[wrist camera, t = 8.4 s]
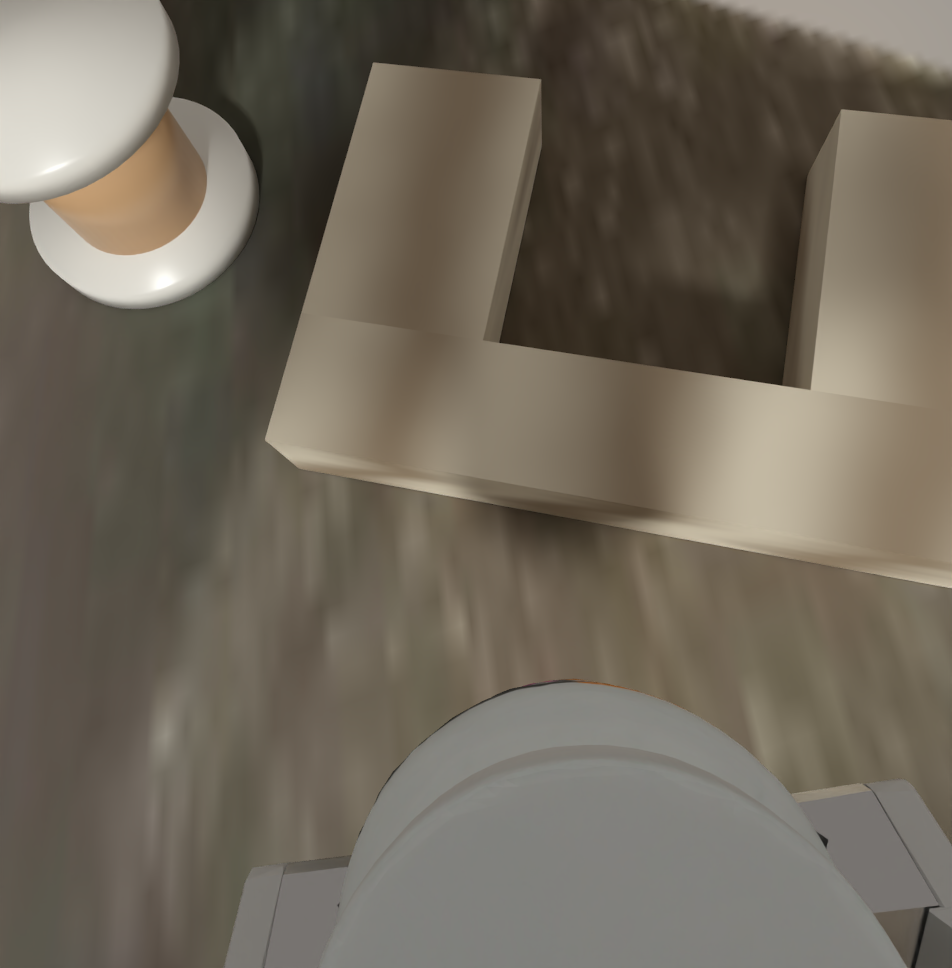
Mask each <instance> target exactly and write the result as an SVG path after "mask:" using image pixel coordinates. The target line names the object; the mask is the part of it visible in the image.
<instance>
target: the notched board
mask: <svg viewBox="0 0 952 968" xmlns="http://www.w3.org/2000/svg"><path fill="white" fill-rule="evenodd" d="M541 147H542V110H541V79H533V78H523V77H513V76H503V75H493V74H483V73H473V72H463V71H453V70H443V69H433V68H423V67H413V66H403V65H393V64H383V63H373V65H372V69H371V72H370V76H369V79H368V82H367V86H366V89H365V93H364V96H363V100H362V103H361V107H360V110H359V114H358V117H357V121H356V124H355V128H354V131H353V135H352V138H351V142H350V145H349V149H348V152H347V156H346V159H345V163H344V166H343V170H342V173H341V177H340V180H339V184H338V187H337V190H336V194H335V197H334V201H333V204H332V208H331V211H330V215H329V218H328V222H327V225H326V229H325V232H324V236H323V239H322V243H321V246H320V250H319V253H318V257H317V260H316V264H315V267H314V271H313V274H312V278H311V281H310V285H309V288H308V291H307V295H306V298H305V302H304V305H303V309H302V312H301V316H300V319H299V323H298V326H297V330H296V333H295V337H294V340H293V344H292V347H291V351H290V354H289V358H288V361H287V365H286V368H285V372H284V375H283V379H282V382H281V386H280V389H279V393H278V396H277V399H276V403H275V406H274V410H273V413H272V417H271V420H270V424H269V427H268V431H267V434H266V438H265V440H266V441H267V442H268V443H269V444H270V445H272V446H273V447H274V448H275V449H276V450H278V451H279V452H280V453H281V454H282V455H284V456H285V457H286V458H287V459H288V460H290V461H291V462H292V463H293V464H294V465H296V466H297V467H298V468H299V469H304V470H310V471H315V472H321V473H326V474H331V475H337V476H342V477H348V478H353V479H359V480H364V481H370V482H375V483H381V484H386V485H391V486H397V487H402V488H408V489H413V490H419V491H424V492H430V493H435V494H441V495H446V496H452V497H457V498H462V499H468V500H473V501H479V502H484V503H490V504H495V505H501V506H506V507H512V508H517V509H522V510H528V511H533V512H539V513H544V514H550V515H555V516H561V517H566V518H572V519H577V520H582V521H588V522H593V523H599V524H604V525H610V526H615V527H621V528H626V529H632V530H637V531H642V532H648V533H653V534H659V535H664V536H670V537H675V538H681V539H686V540H692V541H697V542H702V543H708V544H713V545H719V546H724V547H730V548H735V549H741V550H746V551H752V552H757V553H763V554H768V555H773V556H779V557H784V558H790V559H795V560H801V561H806V562H812V563H817V564H823V565H828V566H833V567H839V568H844V569H850V570H855V571H861V572H866V573H872V574H877V575H883V576H888V577H893V578H899V579H904V580H910V581H915V582H921V583H926V584H932V585H937V586H943V587H948V588H952V120H944V119H934V118H924V117H914V116H904V115H894V114H884V113H874V112H864V111H854V110H844V109H841V111H840V113H839V115H838V117H837V119H836V121H835V123H834V125H833V127H832V129H831V130H830V132H829V134H828V136H827V138H826V140H825V142H824V144H823V146H822V148H821V150H820V152H819V154H818V156H817V158H816V160H815V161H814V163H813V165H812V167H811V169H810V171H809V173H808V175H807V182H806V190H805V199H804V207H803V216H802V224H801V232H800V241H799V249H798V258H797V266H796V274H795V283H794V291H793V299H792V308H791V316H790V325H789V333H788V341H787V350H786V358H785V366H784V375H783V383H782V386H780V385H774V384H767V383H760V382H754V381H747V380H741V379H734V378H727V377H721V376H714V375H708V374H701V373H694V372H688V371H681V370H675V369H668V368H662V367H655V366H648V365H642V364H635V363H629V362H622V361H615V360H609V359H602V358H596V357H589V356H582V355H576V354H569V353H563V352H556V351H550V350H543V349H536V348H530V347H523V346H517V345H510V344H503V343H499V341H500V336H501V332H502V327H503V323H504V318H505V313H506V309H507V304H508V300H509V295H510V290H511V286H512V281H513V276H514V272H515V267H516V263H517V258H518V253H519V249H520V244H521V240H522V235H523V230H524V226H525V221H526V217H527V212H528V207H529V203H530V198H531V194H532V189H533V184H534V180H535V175H536V171H537V166H538V161H539V157H540V152H541Z"/></svg>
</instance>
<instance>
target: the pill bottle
mask: <svg viewBox="0 0 952 968" xmlns="http://www.w3.org/2000/svg"><path fill="white" fill-rule="evenodd" d="M318 968H907V966H906V964H905V963H904V961H903V960H902V958H901V956H900V955H899V953H898V951H897V950H896V948H895V946H894V945H893V943H892V941H891V940H890V938H889V937H888V935H887V933H886V932H885V930H884V929H883V927H882V926H881V924H880V923H879V921H878V920H877V919H876V917H875V916H874V914H873V913H872V911H871V910H870V908H869V907H868V906H867V905H866V903H865V902H864V901H863V899H862V898H861V897H860V896H859V894H858V893H857V892H856V891H855V889H854V888H853V887H852V886H851V885H850V883H849V882H848V881H847V880H846V879H845V878H844V876H843V875H842V874H841V873H840V872H839V871H838V869H837V868H836V867H835V865H834V863H833V861H832V859H831V857H830V855H829V853H828V851H827V850H826V848H825V846H824V844H823V842H822V841H821V839H820V837H819V835H818V834H817V832H816V830H815V829H814V827H813V825H812V824H811V822H810V821H809V819H808V818H807V816H806V815H805V813H804V812H803V810H802V809H801V807H800V806H799V805H798V803H797V802H796V801H795V799H794V798H793V797H792V795H791V794H790V793H789V792H788V791H787V789H786V788H785V787H784V786H783V785H782V784H781V782H780V781H779V780H778V779H777V778H776V777H775V776H774V775H773V774H772V773H771V772H770V771H769V770H768V769H767V768H766V767H765V766H763V765H762V764H761V763H760V762H759V761H758V760H757V759H756V758H755V757H754V756H753V755H752V754H751V753H749V752H748V751H747V750H746V749H745V748H744V747H742V746H741V745H740V744H738V743H737V742H736V741H734V740H733V739H732V738H730V737H729V736H728V735H726V734H725V733H724V732H722V731H721V730H719V729H718V728H717V727H715V726H713V725H712V724H710V723H708V722H707V721H705V720H703V719H702V718H700V717H698V716H697V715H695V714H693V713H691V712H689V711H687V710H685V709H683V708H681V707H679V706H677V705H675V704H672V703H670V702H668V701H665V700H663V699H660V698H657V697H654V696H651V695H648V694H645V693H642V692H639V691H636V690H633V689H629V688H624V687H619V686H614V685H610V684H605V683H598V682H594V681H587V680H579V679H565V680H552V681H546V682H541V683H533V684H529V685H525V686H522V687H518V688H513V689H509V690H507V691H504V692H502V693H499V694H497V695H495V696H493V697H492V698H489V699H487V700H484V701H482V702H480V703H478V704H476V705H475V706H473V707H471V708H469V709H467V710H465V711H464V712H462V713H460V714H458V715H457V716H455V717H453V718H452V719H450V720H449V721H448V722H447V723H445V724H444V725H443V726H442V727H440V728H439V729H438V730H437V731H435V732H434V733H433V734H432V735H430V736H429V737H428V738H427V739H426V740H424V741H423V742H422V743H421V744H420V745H419V746H418V747H417V748H415V749H414V750H413V751H412V752H411V753H410V754H409V756H408V757H407V758H406V759H405V760H404V761H403V762H402V763H401V764H400V765H399V766H398V767H397V768H396V769H395V770H394V771H393V773H392V774H391V776H390V777H389V779H388V780H387V782H386V783H385V785H384V786H383V788H382V789H381V791H380V792H379V794H378V797H377V799H376V802H375V804H374V806H373V808H372V809H371V811H370V813H369V815H368V817H367V820H366V822H365V824H364V826H363V827H362V829H361V831H360V833H359V836H358V839H357V842H356V845H355V848H354V850H353V853H352V856H351V859H350V862H349V866H348V870H347V873H346V877H345V881H344V885H343V889H342V894H341V899H340V904H339V909H338V916H337V924H336V925H335V927H334V929H333V931H332V934H331V936H330V938H329V940H328V942H327V945H326V947H325V950H324V952H323V955H322V958H321V961H320V964H319V967H318Z"/></svg>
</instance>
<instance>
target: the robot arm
mask: <svg viewBox="0 0 952 968" xmlns="http://www.w3.org/2000/svg"><path fill="white" fill-rule="evenodd" d="M791 795H792V797H793V798H794V799H795V801H796V802H797V803H798V805H799V806H800V807H801V809H802V810H803V812H804V813H805V815H806V816H807V818H808V819H809V821H810V822H811V824H812V825H813V827H814V829H815V830H816V832H817V834H818V835H819V837H820V839H821V841H822V842H823V844H824V846H825V848H826V850H827V851H828V853H829V855H830V857H831V859H832V861H833V863H834V865H835V867H836V868H837V869H838V871H839V872H840V873H841V874H842V875H843V876H844V878H845V879H846V880H847V881H848V882H849V883H850V885H851V886H852V887H853V888H854V889H855V891H856V892H857V893H858V894H859V896H860V897H861V898H862V899H863V901H864V902H865V903H866V905H867V906H868V907H869V908H870V910H871V911H872V913H873V914H874V916H875V917H876V919H877V920H878V921H879V923H880V924H881V926H882V927H883V929H884V930H885V932H886V933H887V935H888V937H889V938H890V940H891V941H892V943H893V945H894V946H895V948H896V950H897V951H898V953H899V955H900V956H901V958H902V960H903V961H904V963H905V964H906V966H907V968H952V845H951V843H950V841H949V840H948V838H947V837H946V835H945V834H944V832H943V831H942V829H941V828H940V826H939V825H938V823H937V822H936V820H935V818H934V817H933V815H932V814H931V812H930V811H929V809H928V808H927V806H926V805H925V803H924V802H923V800H922V798H921V797H920V795H919V794H918V792H917V791H916V789H915V788H914V786H913V785H911V784H910V783H909V782H908V781H906V780H905V779H892V780H886V781H879V782H873V783H867V784H861V783H858V784H852V785H845V786H839V787H833V788H826V789H820V790H813V791H807V792H800V793H794V794H791ZM351 856H352V855H348V856H341V857H333V858H325V859H317V860H309V861H301V862H293V863H291V862H289V863H282V864H275V865H268V866H261V867H254V868H252V870H251V872H250V874H249V875H248V877H247V879H246V881H245V884H244V888H243V892H242V896H241V900H240V904H239V908H238V912H237V916H236V920H235V924H234V928H233V932H232V936H231V940H230V944H229V948H228V952H227V956H226V960H225V964H224V968H318V967H319V964H320V961H321V958H322V955H323V952H324V950H325V947H326V945H327V942H328V940H329V938H330V936H331V934H332V931H333V929H334V927H335V925H336V924H337V916H338V909H339V904H340V899H341V894H342V889H343V885H344V881H345V877H346V873H347V870H348V866H349V862H350V859H351Z"/></svg>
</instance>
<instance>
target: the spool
mask: <svg viewBox="0 0 952 968" xmlns="http://www.w3.org/2000/svg"><path fill="white" fill-rule="evenodd" d="M179 65H180V58H179V45H178V39H177V35H176V32H175V29H174V26H173V24H172V21H171V20H170V18H169V16H168V14H167V13H166V11H165V9H164V7H163V6H162V4H161V2H160V0H0V203H9V204H18V203H30V212H29V219H30V228H31V233H32V236H33V240H34V243H35V245H36V247H37V250H38V252H39V253H40V255H41V256H42V258H43V260H44V261H45V263H46V264H47V265H48V266H49V267H50V268H51V269H52V270H53V271H54V272H55V273H56V274H57V275H59V276H60V277H61V278H62V279H63V280H65V281H66V282H67V283H68V284H69V285H71V286H72V287H73V288H74V289H76V290H77V291H78V292H80V293H81V294H82V295H84V296H86V297H88V298H89V299H91V300H93V301H96V302H98V303H101V304H104V305H107V306H112V307H116V308H124V309H147V308H153V307H160V306H164V305H167V304H171V303H174V302H177V301H179V300H182V299H184V298H187V297H189V296H191V295H193V294H194V293H196V292H198V291H200V290H202V289H203V288H205V287H206V286H207V285H209V284H210V283H212V282H213V281H215V280H216V279H217V278H218V277H219V276H220V275H221V274H222V273H224V272H225V271H226V270H227V269H228V267H229V266H230V265H231V264H232V263H233V262H234V261H235V260H236V258H237V257H238V255H239V254H240V253H241V251H242V250H243V248H244V247H245V245H246V243H247V241H248V239H249V237H250V235H251V233H252V230H253V228H254V225H255V222H256V218H257V214H258V209H259V198H260V196H259V183H258V178H257V173H256V171H255V168H254V165H253V163H252V161H251V159H250V157H249V155H248V154H247V152H246V150H245V148H244V147H243V145H242V143H241V141H240V140H239V138H238V136H237V134H236V133H235V131H234V130H233V129H232V128H231V126H230V125H229V124H228V123H227V122H226V121H225V120H224V119H223V118H222V117H220V116H219V115H218V114H217V113H215V112H213V111H212V110H210V109H209V108H207V107H205V106H203V105H201V104H198V103H196V102H193V101H189V100H186V99H182V98H176V97H173V94H174V91H175V87H176V84H177V80H178V73H179Z"/></svg>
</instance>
